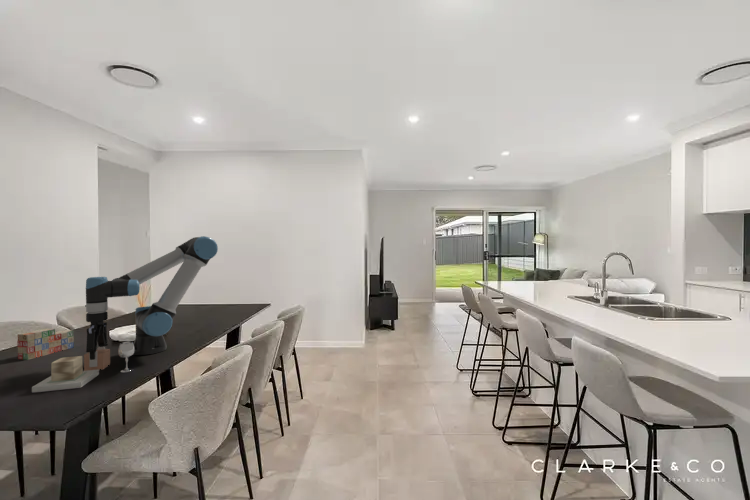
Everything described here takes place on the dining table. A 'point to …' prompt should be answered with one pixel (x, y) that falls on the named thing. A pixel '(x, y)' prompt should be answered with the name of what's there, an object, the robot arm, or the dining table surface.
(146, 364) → the dining table surface
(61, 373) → the maple block
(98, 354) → the terracotta block
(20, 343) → the stack of blocks
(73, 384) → the base plate
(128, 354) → the wineglass
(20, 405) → the dining table surface
